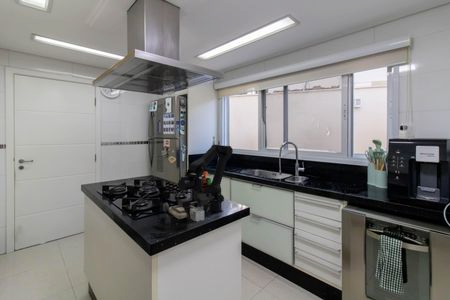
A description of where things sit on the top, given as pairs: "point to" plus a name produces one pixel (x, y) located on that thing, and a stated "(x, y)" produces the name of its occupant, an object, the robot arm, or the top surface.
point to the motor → (205, 182)
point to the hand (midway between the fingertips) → (197, 216)
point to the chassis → (177, 210)
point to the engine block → (197, 214)
